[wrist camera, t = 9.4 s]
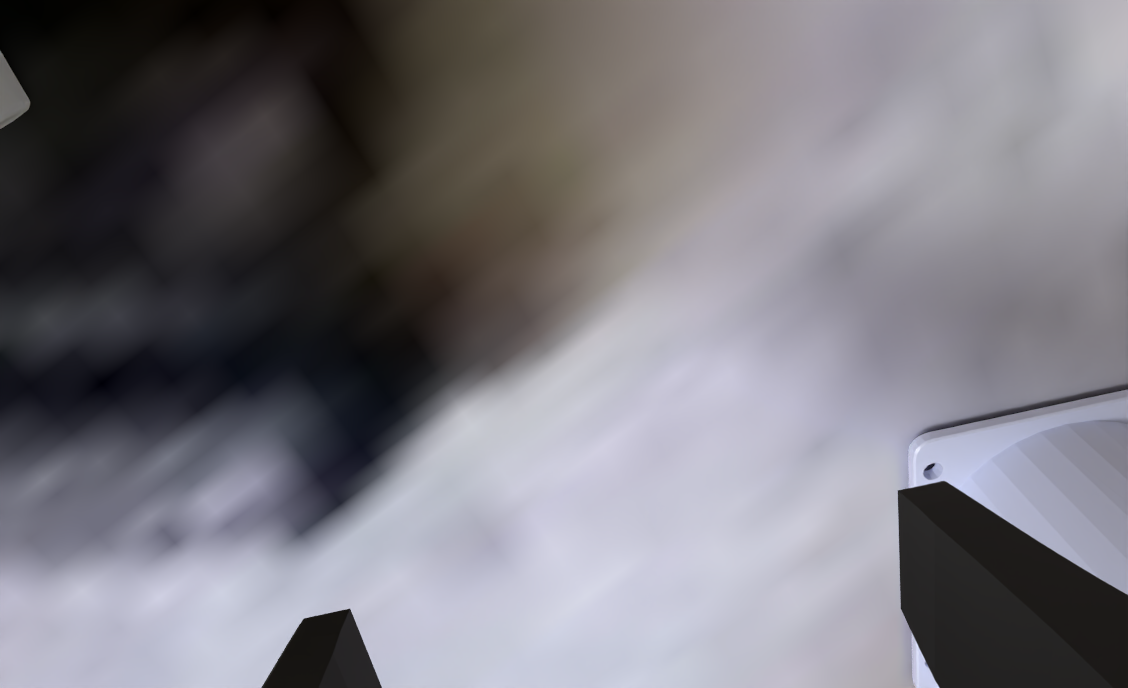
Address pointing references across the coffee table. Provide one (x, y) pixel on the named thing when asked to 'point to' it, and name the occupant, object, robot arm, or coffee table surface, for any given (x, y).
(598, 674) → the coffee table surface
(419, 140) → the coffee table surface
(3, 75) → the tea box
